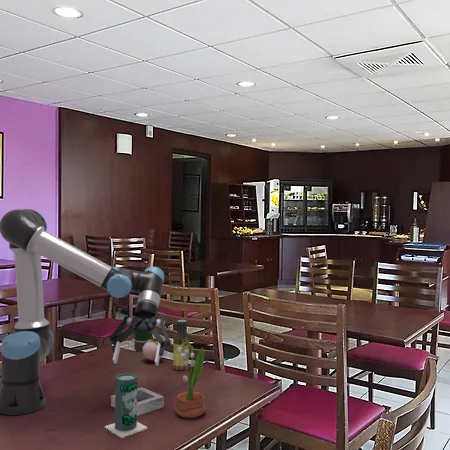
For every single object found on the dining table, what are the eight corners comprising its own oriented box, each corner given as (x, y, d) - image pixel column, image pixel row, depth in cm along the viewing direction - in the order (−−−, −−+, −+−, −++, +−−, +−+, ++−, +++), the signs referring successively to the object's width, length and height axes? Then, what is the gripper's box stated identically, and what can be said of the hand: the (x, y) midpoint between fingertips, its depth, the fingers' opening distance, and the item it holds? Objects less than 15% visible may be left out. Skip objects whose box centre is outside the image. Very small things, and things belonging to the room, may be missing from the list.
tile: (121, 438, 146) (121, 436, 146) (104, 428, 153) (104, 426, 153) (147, 429, 153) (147, 427, 153) (129, 419, 159) (129, 417, 159)
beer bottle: (154, 348, 239) (155, 297, 238) (144, 352, 232) (145, 300, 231) (140, 346, 243) (141, 296, 242) (130, 350, 236) (131, 298, 235)
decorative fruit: (138, 362, 217) (138, 339, 217) (148, 357, 225) (149, 335, 224) (156, 366, 213) (157, 342, 213) (167, 360, 221) (167, 338, 220)
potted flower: (190, 425, 156) (191, 344, 155) (164, 417, 162) (165, 339, 161) (211, 412, 166) (213, 336, 166) (186, 405, 172) (188, 331, 171)
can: (129, 432, 149) (129, 381, 148) (111, 428, 151) (112, 378, 150) (139, 424, 155) (140, 375, 154) (122, 420, 157) (123, 372, 156)
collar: (133, 417, 161) (133, 406, 161) (111, 406, 170) (111, 395, 169) (163, 407, 170) (164, 396, 170) (141, 396, 178) (141, 387, 178)
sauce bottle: (185, 371, 207) (186, 323, 206) (171, 370, 208) (172, 322, 208) (190, 366, 213) (191, 319, 213) (175, 365, 215) (176, 318, 214)
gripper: (184, 314, 178) (175, 370, 164) (114, 311, 181) (99, 366, 166) (182, 302, 173) (172, 358, 159) (110, 299, 175) (94, 354, 161)
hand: (135, 362), depth 162 cm, fingers open, 13 cm apart
